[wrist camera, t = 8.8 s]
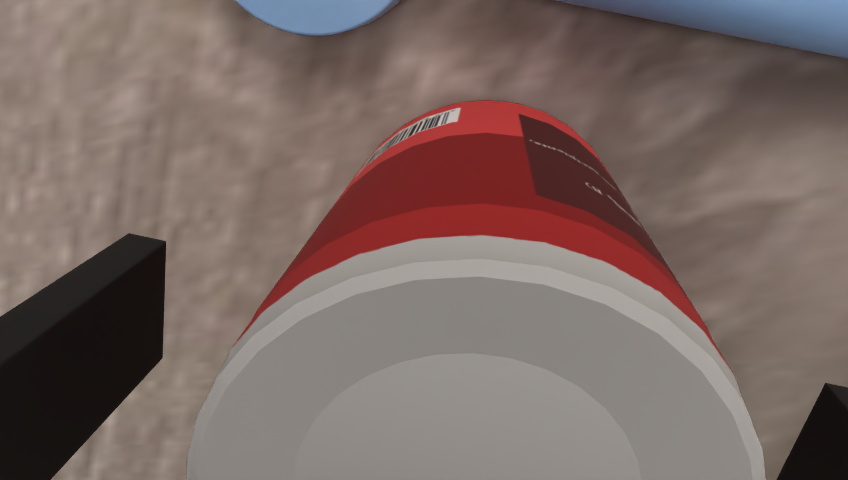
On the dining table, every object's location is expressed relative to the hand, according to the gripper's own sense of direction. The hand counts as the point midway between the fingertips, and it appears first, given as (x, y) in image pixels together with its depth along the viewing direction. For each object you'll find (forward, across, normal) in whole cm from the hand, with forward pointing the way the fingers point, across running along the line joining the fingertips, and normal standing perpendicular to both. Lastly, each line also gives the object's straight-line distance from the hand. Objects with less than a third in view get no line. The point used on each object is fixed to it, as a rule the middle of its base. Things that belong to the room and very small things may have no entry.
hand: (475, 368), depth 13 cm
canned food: (+7, 0, 0) cm, 7 cm away
